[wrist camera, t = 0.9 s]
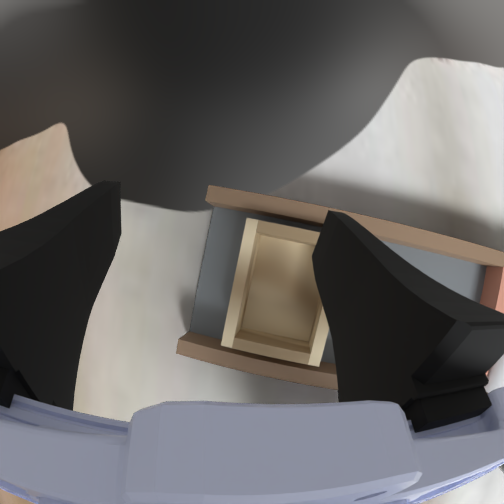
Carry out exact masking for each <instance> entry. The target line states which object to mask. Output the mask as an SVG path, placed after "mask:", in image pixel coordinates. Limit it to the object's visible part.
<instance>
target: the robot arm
mask: <svg viewBox="0 0 504 504" xmlns="http://www.w3.org/2000/svg"><path fill="white" fill-rule="evenodd" d="M120 236H121V199H120V182H113V181H102V182H99V183H97V184H95V185H93V186H91V187H89V188H87V189H85V190H84V191H82V192H80V193H78V194H77V195H75V196H73V197H71V198H69V199H68V200H66V201H64V202H62V203H60V204H58V205H57V206H55V207H53V208H51V209H49V210H47V211H46V212H44V213H42V214H40V215H38V216H36V217H34V218H32V219H29V220H27V221H25V222H23V223H20V224H18V225H16V226H14V227H11V228H8V229H5V230H3V231H0V489H2V490H4V491H7V492H9V493H11V494H13V495H16V496H18V497H21V498H23V499H25V500H28V501H31V502H33V503H36V504H419V503H422V502H424V501H427V500H430V499H432V498H435V497H437V496H440V495H442V494H444V493H447V492H449V491H451V490H454V489H456V488H458V487H460V486H463V485H465V484H467V483H469V482H471V481H473V480H475V479H477V478H479V477H481V476H483V475H485V474H487V473H489V472H491V471H492V470H494V469H496V468H497V467H499V466H501V465H502V464H504V387H501V388H497V389H494V390H492V391H491V392H489V393H488V394H487V392H486V390H485V388H484V386H486V385H487V384H488V382H489V380H488V378H487V376H486V373H487V371H488V370H489V369H490V368H491V367H492V366H493V365H494V364H495V363H496V362H497V361H498V360H499V359H500V358H501V357H502V356H503V355H504V314H503V313H501V312H499V311H496V310H494V309H492V308H489V307H487V306H484V305H482V304H479V303H477V302H475V301H473V300H471V299H469V298H467V297H465V296H462V295H460V294H459V293H457V292H455V291H453V290H451V289H449V288H448V287H446V286H444V285H442V284H441V283H439V282H437V281H435V280H434V279H432V278H431V277H429V276H428V275H426V274H425V273H423V272H422V271H420V270H419V269H417V268H416V267H414V266H413V265H411V264H410V263H409V262H407V261H406V260H404V259H403V258H402V257H401V256H399V255H398V254H397V253H395V252H394V251H393V250H392V249H390V248H389V247H388V246H387V245H385V244H384V243H383V242H382V241H380V240H379V239H378V238H377V237H376V236H374V235H373V234H372V233H371V232H369V231H368V230H367V229H366V228H365V227H363V226H362V225H361V224H360V223H358V222H357V221H356V220H354V219H353V218H351V217H350V216H348V215H347V214H345V213H342V212H336V211H331V210H328V212H327V215H326V218H325V221H324V224H323V226H322V229H321V232H320V235H319V238H318V240H317V243H316V246H315V248H314V251H313V254H312V262H313V270H314V276H315V281H316V285H317V288H318V292H319V295H320V298H321V302H322V305H323V309H324V312H325V315H326V319H327V322H328V326H329V329H330V333H331V338H332V343H333V350H334V357H335V364H336V373H337V383H338V399H339V403H317V404H249V403H227V402H212V401H166V402H163V403H160V404H156V405H153V406H150V407H146V408H143V409H141V410H139V411H137V412H135V413H134V414H133V416H132V419H131V421H130V422H125V421H119V420H114V419H109V418H104V417H99V416H94V415H89V414H85V413H80V412H76V411H73V403H74V392H75V385H76V378H77V371H78V365H79V359H80V354H81V349H82V344H83V340H84V336H85V331H86V327H87V324H88V320H89V316H90V313H91V310H92V307H93V305H94V302H95V300H96V297H97V295H98V293H99V290H100V288H101V285H102V283H103V281H104V279H105V276H106V274H107V272H108V269H109V267H110V265H111V263H112V260H113V258H114V256H115V252H116V249H117V246H118V243H119V239H120Z"/></svg>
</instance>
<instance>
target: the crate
mask: <svg viewBox="0 0 504 504" xmlns="http://www.w3.org/2000/svg"><path fill="white" fill-rule="evenodd" d="M319 235H320V232H315V231H310V230H306V229H301V228H296V227H291V226H286V225H281V224H276V223H271V222H266V221H261V220H256V219H250V218H247V219H246V224H245V229H244V233H243V238H242V243H241V248H240V253H239V258H238V262H237V267H236V272H235V277H234V282H233V287H232V292H231V297H230V302H229V307H228V312H227V317H226V322H225V327H224V332H223V337H222V342H221V346H225V347H229V348H233V349H237V350H242V351H246V352H250V353H255V354H259V355H263V356H268V357H272V358H277V359H282V360H287V361H292V362H297V363H302V364H307V365H312V366H318V367H319V365H320V361H321V358H322V354H323V350H324V346H325V343H326V339H327V335H328V331H329V326H328V322H327V319H326V315H325V312H324V309H323V305H322V302H321V298H320V295H319V292H318V288H317V285H316V281H315V276H314V270H313V262H312V254H313V251H314V248H315V246H316V243H317V240H318V238H319Z"/></svg>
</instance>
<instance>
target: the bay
mask: <svg viewBox="0 0 504 504" xmlns="http://www.w3.org/2000/svg"><path fill="white" fill-rule="evenodd" d="M205 201H207V202H208V203H210V204H211V205H213V206H214V209H213V214H212V218H211V223H210V228H209V232H208V237H207V242H206V247H205V252H204V257H203V262H202V267H201V272H200V277H199V282H198V288H197V293H196V298H195V304H194V309H193V315H192V320H191V326H190V331H189V332H188V333H186V334H185V335H184V336H182V337H181V338H179V339H178V345H177V351H176V353H177V354H180V355H184V356H187V357H190V358H194V359H198V360H201V361H205V362H208V363H212V364H216V365H220V366H224V367H228V368H232V369H236V370H240V371H244V372H248V373H252V374H257V375H261V376H266V377H270V378H275V379H280V380H285V381H290V382H295V383H300V384H305V385H311V386H316V387H322V388H328V389H334V390H338V383H337V373H336V364H335V357H334V350H333V343H332V338H331V333H330V329H329V331H328V335H327V339H326V343H325V346H324V350H323V354H322V358H321V361H320V365H319V367H318V366H312V365H307V364H302V363H297V362H292V361H287V360H282V359H277V358H272V357H268V356H263V355H259V354H255V353H250V352H246V351H242V350H237V349H233V348H229V347H225V346H221V342H222V337H223V332H224V327H225V322H226V317H227V312H228V307H229V302H230V297H231V292H232V287H233V282H234V277H235V272H236V267H237V262H238V258H239V253H240V248H241V243H242V238H243V233H244V229H245V224H246V219H247V218H250V219H256V220H261V221H266V222H271V223H276V224H281V225H286V226H291V227H296V228H301V229H306V230H310V231H315V232H321V229H322V226H323V224H324V221H325V218H326V215H327V212H328V210H331V211H336V212H342V213H345V214H347V215H348V216H350V217H351V218H353V219H354V220H356V221H357V222H358V223H360V224H361V225H362V226H363V227H365V228H366V229H367V230H368V231H369V232H371V233H372V234H373V235H374V236H376V237H377V238H378V239H379V240H380V241H382V242H383V243H384V244H385V245H387V246H388V247H389V248H390V249H392V250H393V251H394V252H395V253H397V254H398V255H399V256H401V257H402V258H403V259H404V260H406V261H407V262H409V263H410V264H411V265H413V266H414V267H416V268H417V269H419V270H420V271H422V272H423V273H425V274H426V275H428V276H429V277H431V278H432V279H434V280H435V281H437V282H439V283H441V284H442V285H444V286H446V287H448V288H449V289H451V290H453V291H455V292H457V293H459V294H460V295H462V296H465V297H467V298H469V299H471V300H473V301H475V302H477V303H479V304H482V305H484V306H487V307H489V308H492V309H494V310H496V311H499V312H501V313H503V314H504V252H502V251H498V250H495V249H492V248H488V247H485V246H481V245H478V244H474V243H471V242H467V241H464V240H460V239H457V238H453V237H449V236H446V235H442V234H438V233H434V232H431V231H427V230H423V229H419V228H415V227H411V226H407V225H403V224H399V223H395V222H391V221H387V220H383V219H378V218H374V217H370V216H365V215H361V214H357V213H352V212H348V211H343V210H339V209H334V208H329V207H325V206H320V205H315V204H310V203H305V202H300V201H295V200H290V199H285V198H280V197H275V196H269V195H264V194H259V193H253V192H247V191H241V190H236V189H230V188H224V187H218V186H212V185H209V186H208V190H207V195H206V199H205ZM486 376H487V378H488V380H489V382H488V384H487V385H486V386H484V388H485V390H486V392H487V394H488V393H489V392H491V391H492V390H494V389H497V388H501V387H504V355H503V356H502V357H501V358H500V359H499V360H498V361H497V362H496V363H495V364H494V365H493V366H492V367H491V368H490V369H489V370H488V371H487V373H486Z"/></svg>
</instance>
